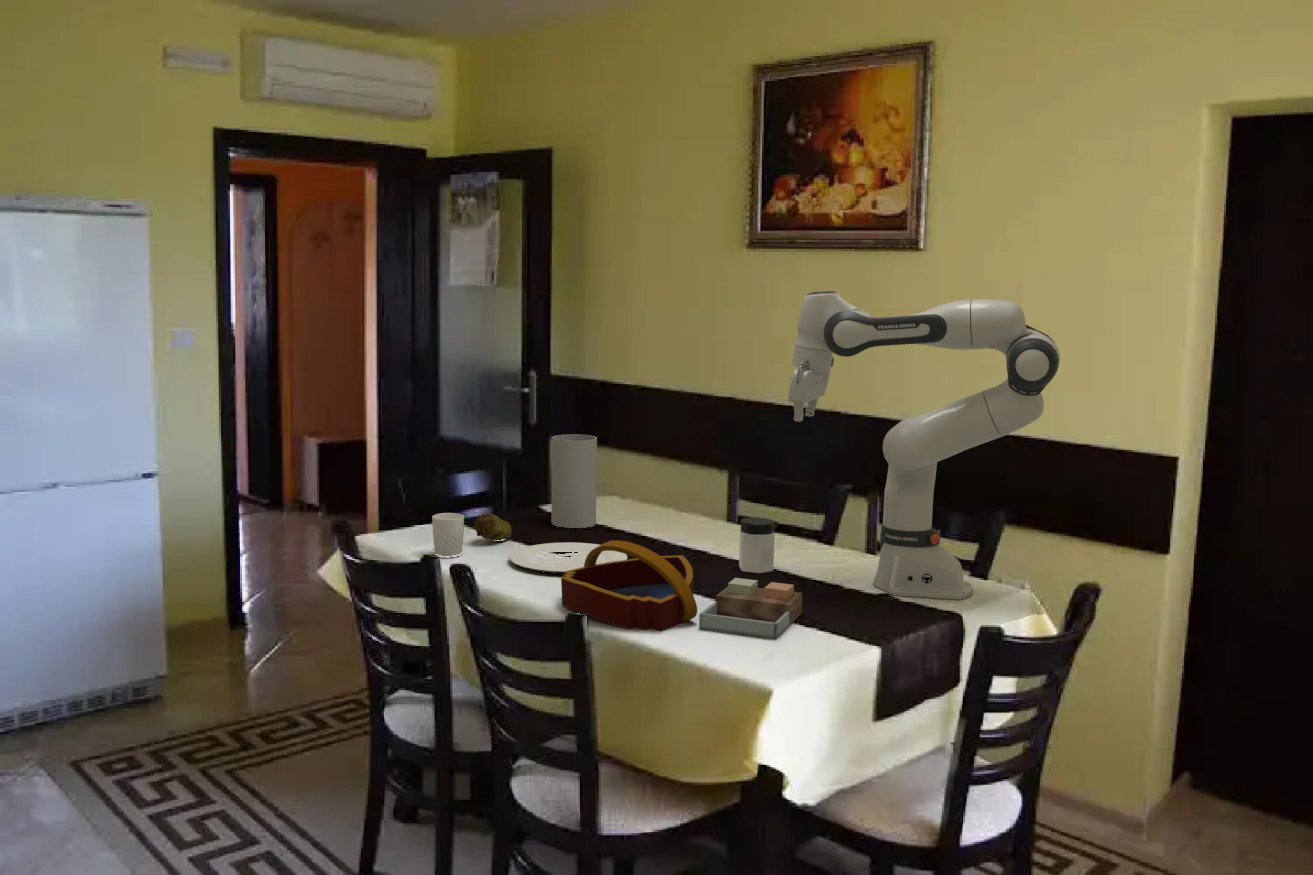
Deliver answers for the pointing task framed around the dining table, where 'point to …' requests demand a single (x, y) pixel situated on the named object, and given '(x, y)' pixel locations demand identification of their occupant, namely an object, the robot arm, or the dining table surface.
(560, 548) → the plate
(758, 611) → the walnut block
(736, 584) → the sage tile
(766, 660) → the dining table surface
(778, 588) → the terracotta tile
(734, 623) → the tray
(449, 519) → the white cup
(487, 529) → the potato
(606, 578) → the decorative basket
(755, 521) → the jar
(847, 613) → the dining table surface
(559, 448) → the cylinder vase
